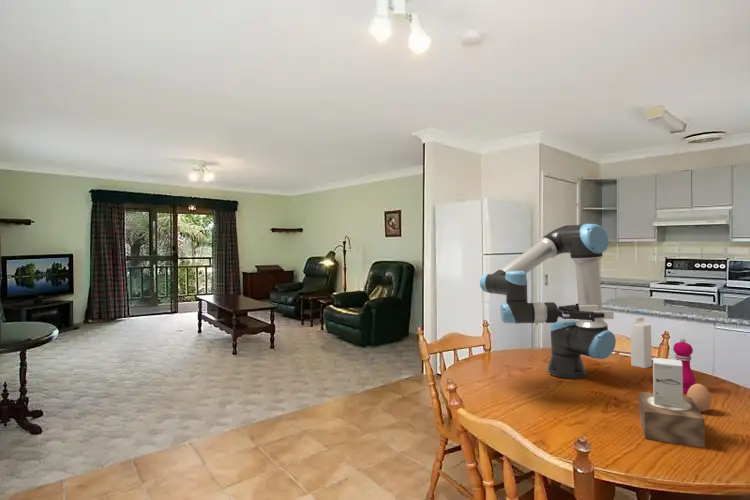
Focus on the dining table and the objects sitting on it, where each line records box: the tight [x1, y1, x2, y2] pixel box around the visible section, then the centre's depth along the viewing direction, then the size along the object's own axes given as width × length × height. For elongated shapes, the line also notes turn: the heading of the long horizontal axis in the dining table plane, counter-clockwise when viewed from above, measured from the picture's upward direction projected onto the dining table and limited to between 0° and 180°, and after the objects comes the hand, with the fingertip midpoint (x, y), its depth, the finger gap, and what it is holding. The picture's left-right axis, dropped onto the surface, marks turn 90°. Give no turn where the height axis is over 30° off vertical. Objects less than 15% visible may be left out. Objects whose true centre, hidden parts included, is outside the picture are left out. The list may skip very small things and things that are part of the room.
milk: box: [629, 316, 653, 369], centre depth 194 cm, size 6×6×22 cm
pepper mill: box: [672, 338, 697, 395], centre depth 161 cm, size 7×7×20 cm
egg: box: [686, 383, 713, 413], centre depth 142 cm, size 7×7×9 cm
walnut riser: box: [638, 391, 706, 449], centre depth 128 cm, size 14×18×8 cm
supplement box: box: [652, 357, 684, 408], centre depth 128 cm, size 7×7×13 cm
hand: (605, 311), depth 155 cm, fingers open, 13 cm apart
